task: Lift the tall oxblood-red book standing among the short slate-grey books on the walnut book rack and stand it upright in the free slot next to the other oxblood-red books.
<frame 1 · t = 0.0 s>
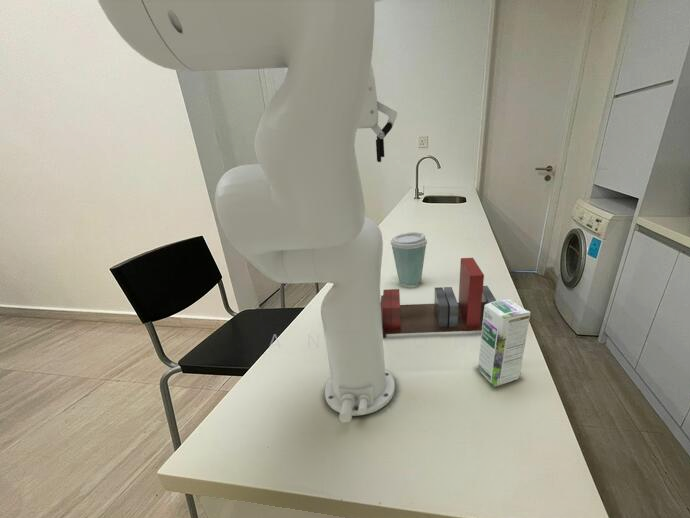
hand: (354, 162, 65), 37 cm above the table, tool pointing down, fingers open, 9 cm apart
syrup box: (497, 375, 63), on the table
red book: (468, 315, 81), point 1 cm above the table, touching book rack
book rack: (437, 320, 82), on the table
disposable coffee cup: (409, 283, 102), on the table
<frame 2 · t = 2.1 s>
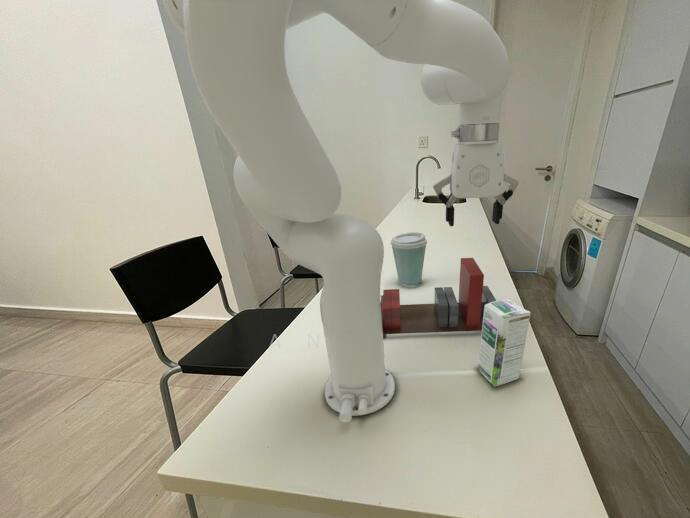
hand: (473, 223, 71), 24 cm above the table, tool pointing down, fingers open, 9 cm apart
nothing on the table moved.
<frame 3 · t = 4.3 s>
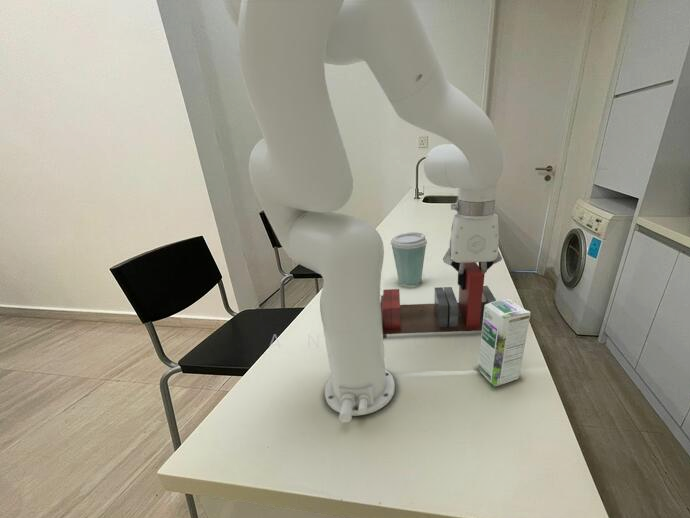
hand: (470, 286, 78), 9 cm above the table, tool pointing down, fingers closed on red book, 3 cm apart
red book: (468, 315, 81), point 1 cm above the table, touching book rack, gripper
everything else where it was.
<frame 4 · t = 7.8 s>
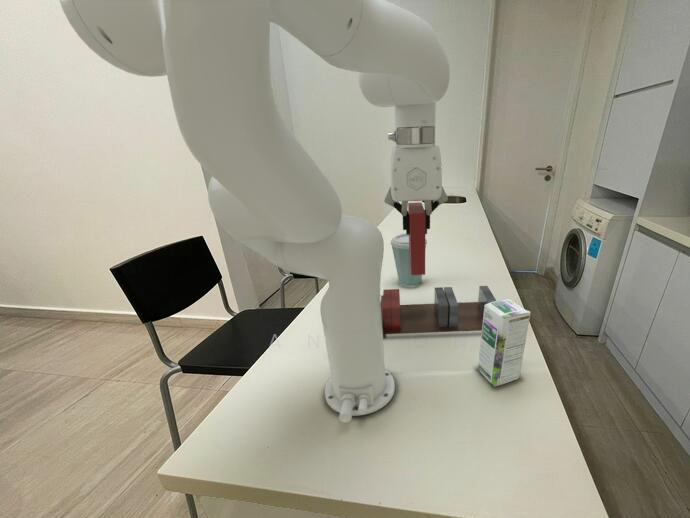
hand: (416, 232, 71), 22 cm above the table, tool pointing down, fingers closed on red book, 3 cm apart
red book: (416, 265, 75), point 15 cm above the table, touching gripper
everything else where it was.
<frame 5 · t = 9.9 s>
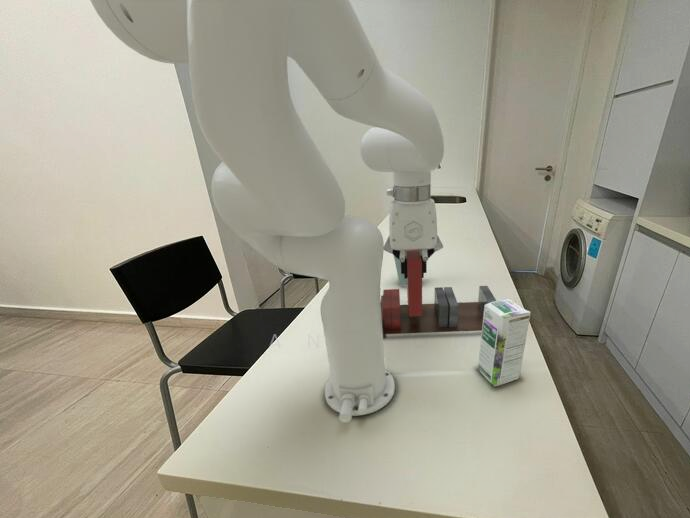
hand: (413, 275, 76), 12 cm above the table, tool pointing down, fingers closed on red book, 3 cm apart
red book: (414, 305, 80), point 4 cm above the table, touching gripper
everything else where it was.
when the fingers open (9 cm above the table, at t = 11.1 s): red book stays where it is, resting on book rack.
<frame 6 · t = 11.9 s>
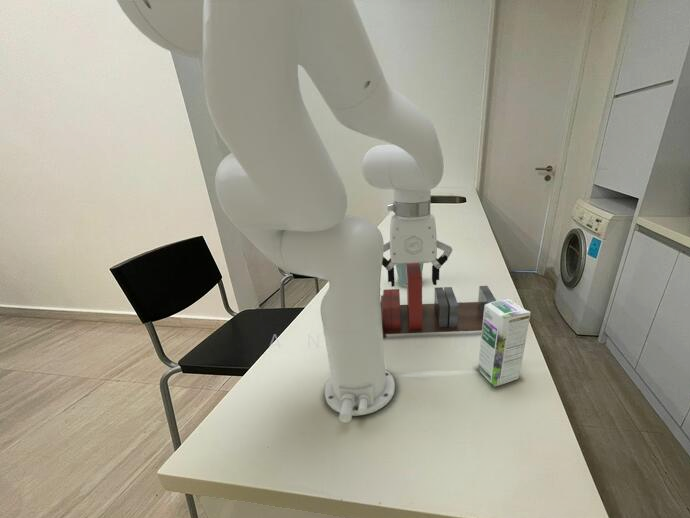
hand: (413, 283, 77), 10 cm above the table, tool pointing down, fingers open, 9 cm apart
red book: (414, 317, 81), point 1 cm above the table, touching book rack
everything else where it was.
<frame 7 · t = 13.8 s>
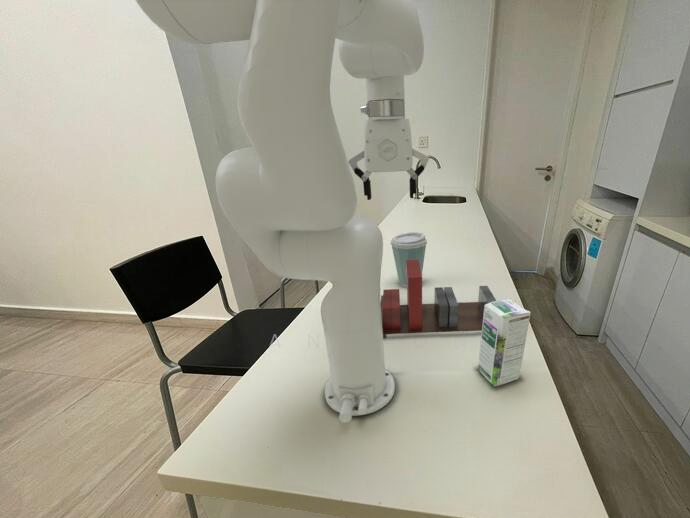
hand: (390, 198, 75), 28 cm above the table, tool pointing down, fingers open, 9 cm apart
nothing on the table moved.
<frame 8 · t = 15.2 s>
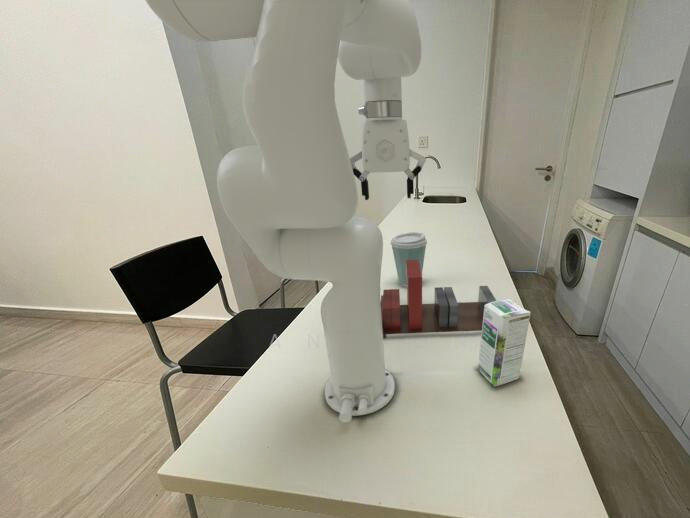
hand: (388, 198, 76), 28 cm above the table, tool pointing down, fingers open, 9 cm apart
nothing on the table moved.
at the end: red book 0.1 cm from the target spot, point 1.0 cm above the table; red book tilted 0°; the gripper is holding nothing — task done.
